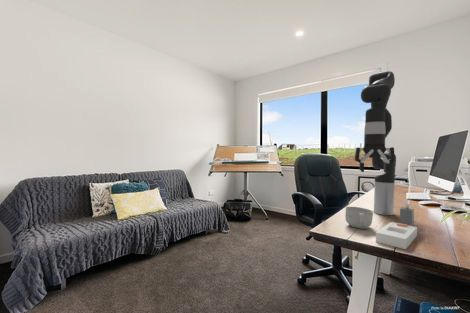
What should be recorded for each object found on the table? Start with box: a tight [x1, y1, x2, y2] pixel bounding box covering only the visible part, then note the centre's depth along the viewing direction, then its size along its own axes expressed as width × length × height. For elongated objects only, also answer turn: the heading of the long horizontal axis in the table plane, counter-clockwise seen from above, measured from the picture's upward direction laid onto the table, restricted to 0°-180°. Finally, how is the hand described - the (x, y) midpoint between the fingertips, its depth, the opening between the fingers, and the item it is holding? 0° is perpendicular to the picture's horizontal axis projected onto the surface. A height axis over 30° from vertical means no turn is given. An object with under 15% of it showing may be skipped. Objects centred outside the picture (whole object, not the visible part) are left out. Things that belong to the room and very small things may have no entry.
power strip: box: [375, 221, 418, 250], centre depth 90 cm, size 20×9×4 cm, turn 133°
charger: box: [399, 203, 415, 227], centre depth 101 cm, size 4×4×11 cm
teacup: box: [344, 206, 374, 230], centre depth 103 cm, size 14×11×8 cm
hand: (373, 172), depth 99 cm, fingers open, 8 cm apart
